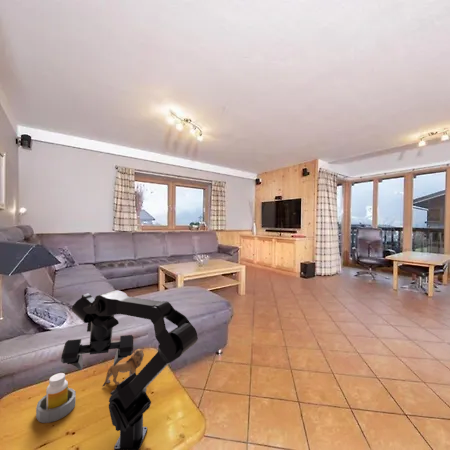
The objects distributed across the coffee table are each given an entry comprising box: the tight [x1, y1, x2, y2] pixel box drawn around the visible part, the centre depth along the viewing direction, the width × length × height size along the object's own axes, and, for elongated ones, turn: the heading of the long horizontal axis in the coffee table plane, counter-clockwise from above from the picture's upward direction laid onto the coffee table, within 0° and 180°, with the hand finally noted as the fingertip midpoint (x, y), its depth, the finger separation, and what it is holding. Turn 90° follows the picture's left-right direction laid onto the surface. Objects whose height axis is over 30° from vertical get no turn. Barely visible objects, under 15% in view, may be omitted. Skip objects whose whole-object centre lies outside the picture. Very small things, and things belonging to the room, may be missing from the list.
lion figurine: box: [102, 348, 145, 387], centre depth 86 cm, size 15×5×9 cm, turn 133°
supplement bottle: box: [45, 372, 69, 410], centre depth 72 cm, size 5×5×10 cm
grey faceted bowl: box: [35, 387, 77, 424], centre depth 72 cm, size 10×10×3 cm
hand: (98, 366), depth 74 cm, fingers open, 9 cm apart
